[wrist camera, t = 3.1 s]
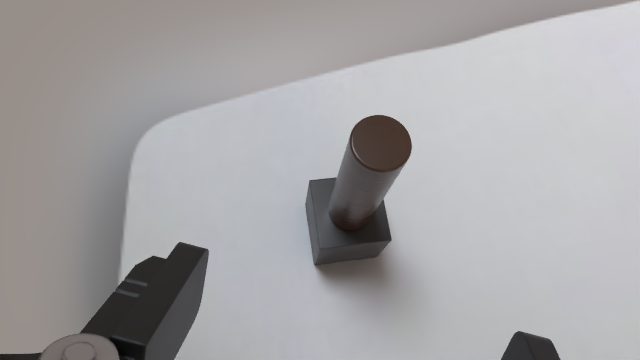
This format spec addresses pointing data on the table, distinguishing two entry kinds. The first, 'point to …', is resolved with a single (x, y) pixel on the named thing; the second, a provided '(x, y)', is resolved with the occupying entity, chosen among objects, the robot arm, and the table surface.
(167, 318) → the robot arm
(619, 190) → the table surface
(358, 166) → the cylinder on square base
